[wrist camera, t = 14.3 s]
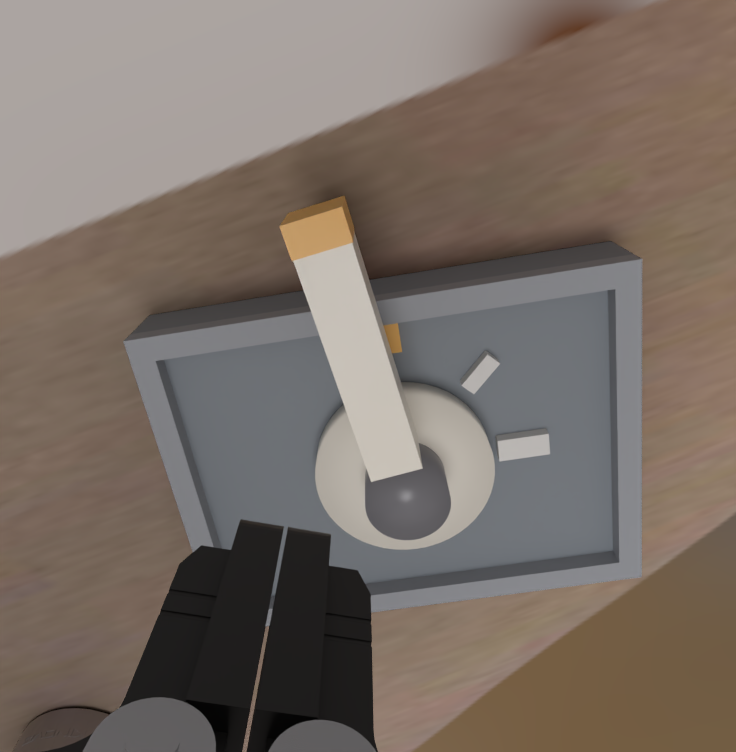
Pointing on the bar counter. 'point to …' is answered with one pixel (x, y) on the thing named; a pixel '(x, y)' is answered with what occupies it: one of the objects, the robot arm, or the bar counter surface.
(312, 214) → the white lever with disc
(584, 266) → the grey tray
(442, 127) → the bar counter surface
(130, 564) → the bar counter surface
